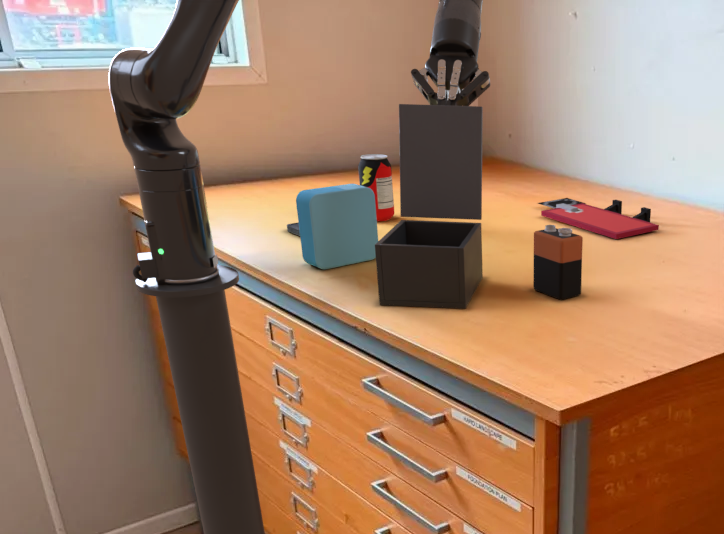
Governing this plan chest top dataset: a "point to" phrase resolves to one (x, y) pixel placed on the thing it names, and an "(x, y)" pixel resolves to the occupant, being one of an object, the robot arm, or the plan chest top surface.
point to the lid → (440, 161)
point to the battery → (557, 262)
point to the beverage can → (378, 183)
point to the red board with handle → (600, 218)
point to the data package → (337, 225)
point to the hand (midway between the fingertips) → (444, 124)
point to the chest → (429, 264)
